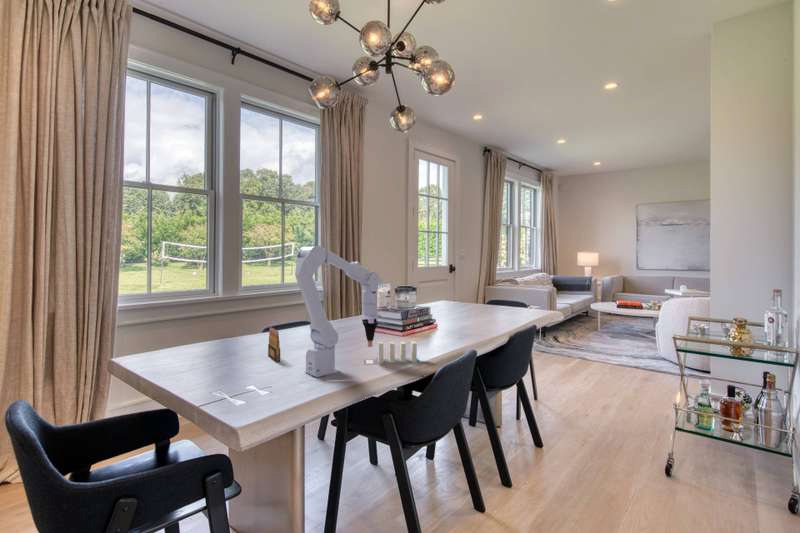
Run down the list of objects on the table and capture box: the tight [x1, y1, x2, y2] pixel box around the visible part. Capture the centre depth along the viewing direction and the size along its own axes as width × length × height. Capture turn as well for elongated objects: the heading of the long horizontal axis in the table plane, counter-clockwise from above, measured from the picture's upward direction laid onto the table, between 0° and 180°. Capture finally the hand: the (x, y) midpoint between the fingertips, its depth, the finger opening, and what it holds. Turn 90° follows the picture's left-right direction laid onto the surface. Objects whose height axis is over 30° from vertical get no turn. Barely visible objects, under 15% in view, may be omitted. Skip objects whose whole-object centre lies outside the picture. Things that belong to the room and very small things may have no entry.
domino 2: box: [388, 341, 396, 363], centre depth 155 cm, size 2×4×7 cm, turn 8°
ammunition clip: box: [267, 326, 281, 363], centre depth 159 cm, size 11×2×12 cm, turn 33°
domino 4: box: [410, 340, 418, 362], centre depth 156 cm, size 2×4×7 cm, turn 8°
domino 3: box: [399, 341, 407, 362], centre depth 156 cm, size 2×4×7 cm, turn 8°
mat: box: [363, 357, 421, 366], centre depth 155 cm, size 21×7×1 cm, turn 98°
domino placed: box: [366, 341, 373, 348], centre depth 154 cm, size 2×4×7 cm, turn 8°
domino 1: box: [377, 341, 384, 363], centre depth 154 cm, size 2×4×7 cm, turn 8°
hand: (369, 339), depth 154 cm, fingers closed on domino placed, 4 cm apart
